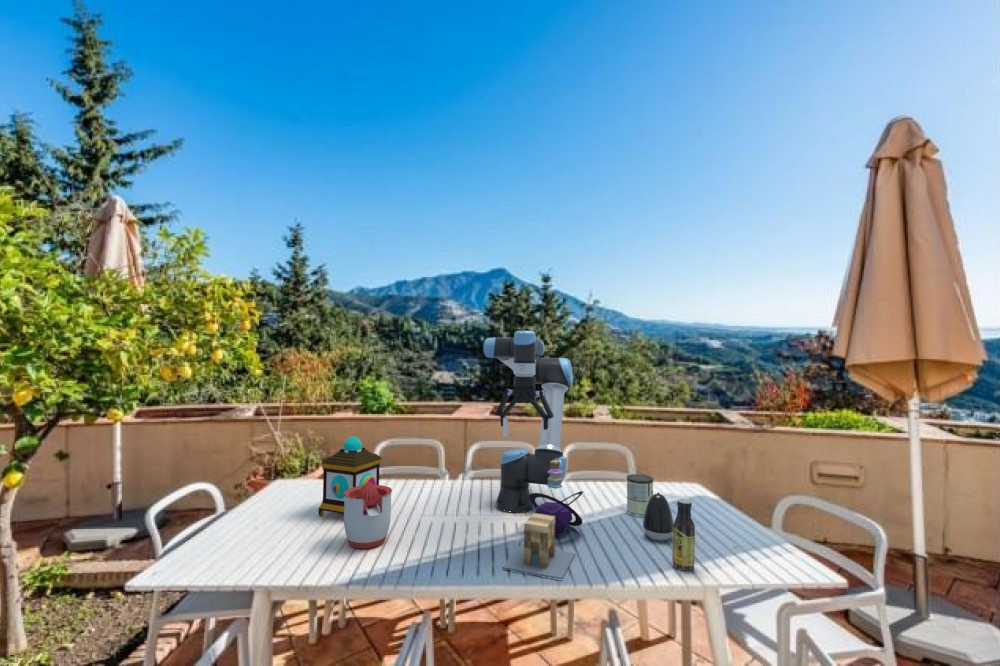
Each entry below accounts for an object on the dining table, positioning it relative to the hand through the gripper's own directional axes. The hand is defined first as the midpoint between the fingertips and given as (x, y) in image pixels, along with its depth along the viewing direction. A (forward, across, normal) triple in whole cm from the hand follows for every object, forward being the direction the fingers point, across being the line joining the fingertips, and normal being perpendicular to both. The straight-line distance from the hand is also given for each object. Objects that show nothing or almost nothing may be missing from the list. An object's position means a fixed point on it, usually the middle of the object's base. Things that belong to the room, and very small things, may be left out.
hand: (523, 437), depth 162 cm
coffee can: (+35, +35, +45) cm, 67 cm away
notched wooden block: (+34, +10, -14) cm, 38 cm away
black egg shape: (+35, +43, +20) cm, 59 cm away
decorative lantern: (+35, -71, 0) cm, 79 cm away
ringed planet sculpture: (+35, +8, +12) cm, 38 cm away
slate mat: (+35, +10, -14) cm, 39 cm away
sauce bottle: (+35, +51, -1) cm, 62 cm away
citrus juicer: (+35, -47, -22) cm, 63 cm away
